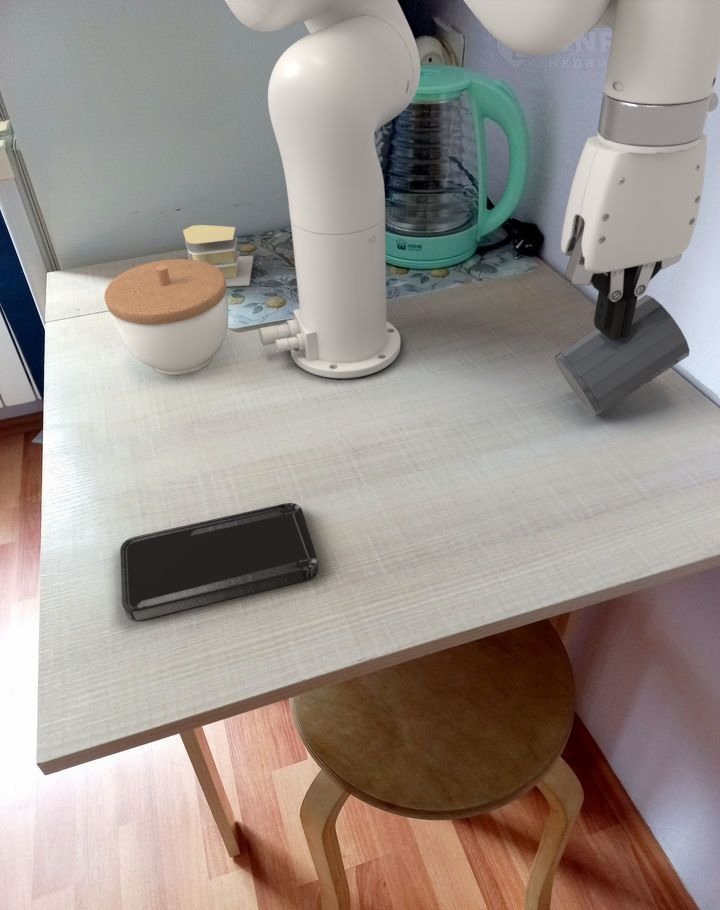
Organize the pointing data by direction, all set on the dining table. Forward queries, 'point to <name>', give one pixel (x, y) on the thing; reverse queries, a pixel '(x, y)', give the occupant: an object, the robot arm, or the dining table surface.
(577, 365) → the cup
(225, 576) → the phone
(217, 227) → the stacked layers on plate
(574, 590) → the dining table surface
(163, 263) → the lidded bowl
